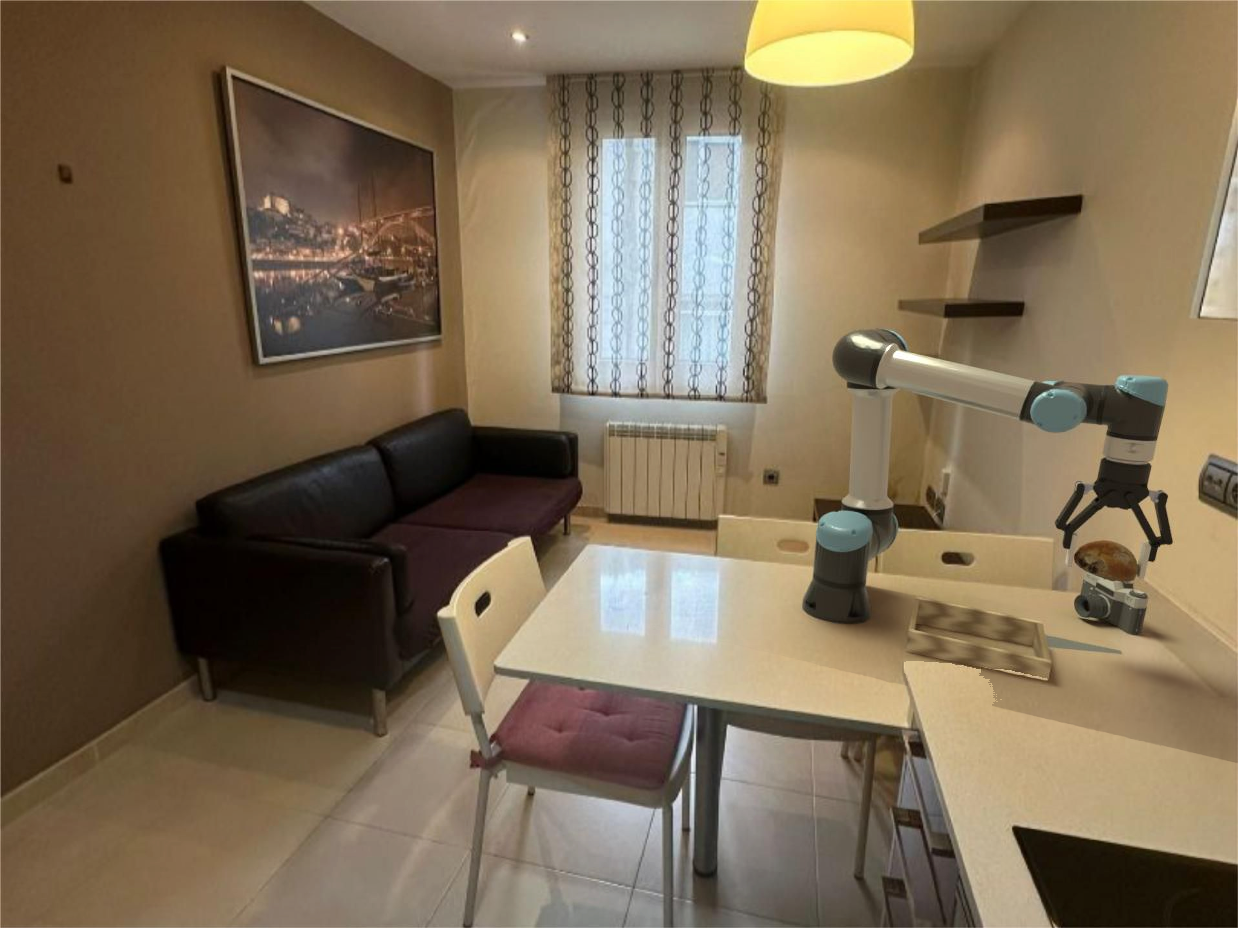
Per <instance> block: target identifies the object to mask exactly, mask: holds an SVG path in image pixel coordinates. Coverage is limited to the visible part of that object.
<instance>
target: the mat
mask: <svg viewBox="0 0 1238 928" xmlns="http://www.w3.org/2000/svg"><path fill="white" fill-rule="evenodd" d="M1045 636H1046V641H1047V645H1048V648H1053V649H1054V648H1055V649H1064V650H1073V651H1074V650H1075V651H1085V652H1093V653H1094V652H1096V653H1106V654H1117V655H1123V652H1122V651H1121V650H1119V649H1115V648H1110V647H1106V646H1105V647H1104V646H1101V645H1094V644H1090V643H1086V642H1081V641H1077V640H1076V641H1075V640H1070V639H1065V638H1061V637H1057V636H1051V635H1047V634H1045Z"/></svg>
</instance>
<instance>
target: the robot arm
mask: <svg viewBox="0 0 1238 928" xmlns="http://www.w3.org/2000/svg"><path fill="white" fill-rule="evenodd" d="M831 359H832V366H833V368H834V371H835V372H836V373H837V375H838V376H839V377H841V379H842V380H844V381H846V390H847V391H848V392H849V393H850V394H851V395H852V415H851V434H850V435H851V438H850V439H851V440H850V441H851V442H850V458H849V459H850V462H849V464H850V465H849V485H848V494H847V495H846V496H845V497H843V498H842V500H841V510H838V511H830V512H827V513H826V514H824V515H822V516H821V517H820V519H819V521H818V523H817V528H816V531H815V546H814V560H813V572H812V579H811V581H810V583H809V585H808V587H807V590H806V592H805V593H804V595H803V597H802V605H801V607H802V610H803V612H805V613H806V614H807V615H809V616H810V617H813V618H815V619H818V620H821V621H824V622H829V623H834V624H843V625H856V624H863V623H865V622H867V621H869V620H870V618H871V615H872V609H871V604H870V603H871V602H870V600H869V595H868V591H867V588H866V587H867V586H866V584H867V576H868V570H869V569H868V568H869V563H870V561H872V560H873V559H874V558H876V557H878V556H879V555H881V554H882V553H885V552H886V550H888V549H889V548H890V547H891V546H892V545H893V543H894V542H895V540H896V538H897V536H898V533H899V522H898V519H897V517H896V515H895V514H894V502H893V501H892V499H890V498H889V496H888V487H889V486H888V484H889V471H890V469H889V467H890V451H891V449H890V448H891V433H892V417H893V415H892V414H893V400H894V398H893V397H894V396H895V394H896V393H897V392H898V391H900V390H903V391H906V392H909V393H913V394H917V395H921V396H925V397H929V398H933V399H936V400H941V401H945V402H949V403H952V404H955V405H960V406H964V407H968V408H972V409H976V410H979V411H983V412H987V413H990V414H995V415H999V416H1002V417H1006V418H1011V419H1014V420H1018V421H1021V422H1025V423H1026V424H1032V425H1034V426H1036V427H1037V428H1038V429H1040V430H1042V431H1044V432H1047V433H1052V434H1059V433H1065V432H1068V431H1071V430H1074V429H1075V428H1077V426H1080V425H1081V424H1089V425H1090V424H1091V425H1097V426H1107V427H1106V428H1107V430H1106V433H1105V439H1104V443H1103V448H1102V452H1101V453H1102V455H1103V456H1104V457H1102V458H1101V459H1100V463H1099V467H1098V472H1097V477H1096V480H1095V481H1094V482H1093V483H1089V482H1083V481H1081V480H1077V481H1076V482H1075V484H1074V491H1073V492H1072V494H1071V496H1070V497H1069V500H1067V502H1066V504H1065V506H1064V507H1063V508H1062V510H1061V511H1060V512H1059V515H1058V516H1057V518H1056V519H1055V521H1054V525H1055V527H1056V529H1058V530H1059V531H1060V530H1061V531H1062V532H1064V533H1063V538H1062V542H1061V543H1062V547H1063V549H1067V551H1066V557H1065V561H1064V562H1065V565H1066V567H1069V568H1072V566H1073V561H1074V554H1075V553H1076V552H1075V551H1076V547H1077V540H1078V538H1079V537H1078V533H1077V532H1076V531H1078V530H1079V528H1080V527H1082V526H1083V525H1085V523H1086V522H1088V521H1089V520H1090V519H1091V518H1092V517H1093V516H1094V515H1095V514H1096V513H1097V512H1099V511H1100V510H1102V509H1103V508H1104V507H1106V508H1109V509H1121V510H1125V511H1128V510H1131V511H1132V513H1133V515H1134V516H1135V518H1136V520H1137V522H1138V525H1140V528H1141V529H1142V532H1143V533H1144V535H1145V537H1146V539H1147V540H1148V541H1144V540H1143V541H1142V543H1141V549H1140V551H1139V552H1140V553H1139V557H1138V561H1137V564H1138V571H1137V574H1136V577H1138V578H1139V579H1140V580H1141V579H1142V580H1144V579H1145V575H1146V571H1147V567H1148V564H1149V563H1148V562H1150V563H1154V562H1155V561H1156V558H1157V553H1158V550H1159V548H1160V547H1161V546H1165V545H1167V546H1171V545H1172V544H1173V542H1174V539H1173V535H1172V530H1171V525H1170V521H1169V515H1168V511H1167V503H1168V499H1169V495H1168V493H1166V492H1165V491H1164V490H1162V489H1159V490H1151V489H1149V488H1148V484H1149V479H1150V476H1151V470H1152V467H1153V466H1152V464H1151V463H1150V462H1152V461H1153V460H1154V456H1155V452H1156V447H1157V441H1158V438H1159V433H1160V429H1161V425H1162V420H1163V417H1164V414H1165V408H1166V405H1167V403H1166V402H1167V395H1168V390H1169V382H1168V381H1167V379H1165V378H1163V377H1159V376H1152V375H1151V376H1150V375H1131V374H1129V375H1128V374H1123V375H1120V376H1118V377H1117V378H1116V379H1117V380H1116V382H1114V384H1093V383H1081V382H1071V381H1064V380H1059V381H1058V380H1057V381H1054V380H1053V381H1052V380H1045V381H1042V382H1039V381H1036V380H1032V379H1027V378H1022V377H1018V376H1014V375H1009V374H1007V373H1002V372H997V371H992V370H989V369H984V368H979V367H976V366H975V367H974V366H971V365H966V364H961V363H959V362H953V361H949V360H943V359H940V358H937V357H936V358H935V357H931V356H927V355H923V354H918V353H913V352H910V350H909V347H908V344H907V342H906V340H905V339H904V338H903V337H902V336H901V335H900V334H898V333H897V332H896V331H893V330H890V329H886V328H872V329H857V330H852V331H850V332H848V333H846V334H844V335H843V336H842V337H841V338H840V339H839V340H838V341H837V342H836V344H835V345H834V348H833V351H832V355H831ZM1090 491H1094V493H1095V495H1096V497H1094V498H1093V499H1092V501H1090V503H1089V504H1088V505H1087V506H1085V508H1084V509H1082V510H1081V511H1080V512H1079V513H1078V514H1077V515H1076V516H1075V517H1074V518H1073V519H1071V520H1070V521H1069V519H1070V518H1071V517H1072V515H1073V513H1074V512H1075V510H1076V509H1077V507H1078V506H1079V504H1080V502H1081V501H1082V499H1083V497H1084V495H1087V494H1089V492H1090ZM1148 497H1149V498H1150V501H1151V502H1152V503H1153V505H1154V510H1155V514H1156V515H1155V516H1156V520H1157V524H1158V530H1159V533H1160V536H1156V533H1155V532H1154V530H1153V528H1152V526H1151V525H1150V523H1149V521H1148V519H1147V516H1146V515H1145V514H1144V511H1143V509H1142V507H1141V506H1140V503H1141V502H1143V501H1144V500H1146V498H1148ZM1068 521H1069V522H1068Z"/></svg>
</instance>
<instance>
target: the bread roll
mask: <svg viewBox="0 0 1238 928" xmlns="http://www.w3.org/2000/svg"><path fill="white" fill-rule="evenodd" d="M1075 551H1076V552H1074V557H1073V561H1074V563H1075V565H1076V566H1078V567H1079V568H1080V569H1082V570H1083V571H1084V572H1085V573H1086V572H1088V573H1091V574H1093V575H1095V576H1098V577H1101V578H1104V579H1107V580H1110V581H1119V582H1125V583H1128V582H1131V581H1133V582H1134V581H1135V579H1136V578H1137V571H1138V561H1137V559H1136V557H1135V555H1134V553H1133V552H1132V551H1131V550H1130V549H1129V548H1128V547H1126V546H1124V545H1123V544H1121V543H1118V542H1116V541H1112V540H1106V539H1105V540H1104V539H1103V540H1094V541H1090V542H1087V543H1085V544H1083V545H1081V546H1079V548H1078V549H1077V550H1075Z"/></svg>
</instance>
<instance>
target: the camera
mask: <svg viewBox="0 0 1238 928" xmlns="http://www.w3.org/2000/svg"><path fill="white" fill-rule="evenodd" d="M1134 584H1135V582H1134V581H1131V582H1128V583H1125V582H1119V581H1110V580H1107V579H1104V578H1101V577H1098V576H1095V575H1093V574H1091V573H1088V572H1086V571H1085V574H1084V578H1083V581H1082V585H1081V590H1080V594H1078V595H1077V596H1076V597H1075V599H1074V601H1073V607H1074V609H1075V612H1076V613H1077V615H1078V616H1080V617H1082V618H1085V619H1086V618H1088V619H1089V618H1092V619H1101V620H1103V621H1105V622H1107V623H1110V624H1111V625H1113V626H1115V627H1117V628H1119V629H1120V630H1122V632H1124V633H1126V634H1127V635H1128V634H1129V635H1140V634H1142V631H1143V626H1144V622H1145V617H1146V614H1147V609H1148V602H1149V597H1148V595H1147V593H1146V592H1144V591H1142V590H1138V589H1134Z"/></svg>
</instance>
